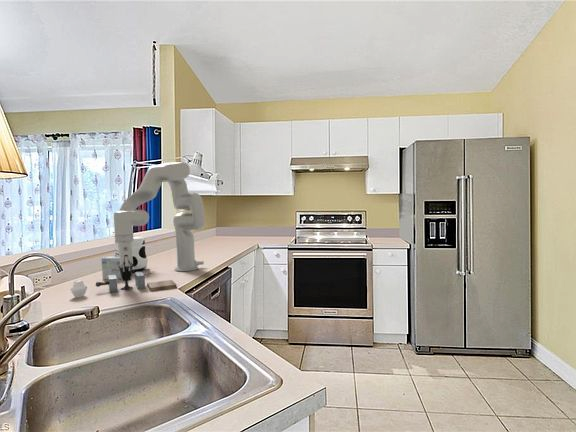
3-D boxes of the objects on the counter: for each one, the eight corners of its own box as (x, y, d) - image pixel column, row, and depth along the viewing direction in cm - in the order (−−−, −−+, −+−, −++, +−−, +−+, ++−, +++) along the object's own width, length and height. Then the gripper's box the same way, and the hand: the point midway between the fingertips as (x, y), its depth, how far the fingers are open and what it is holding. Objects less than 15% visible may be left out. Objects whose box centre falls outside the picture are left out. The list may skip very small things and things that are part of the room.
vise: (142, 284, 179) (141, 271, 178) (145, 288, 170) (144, 275, 170) (95, 290, 170) (95, 276, 170) (96, 295, 161) (95, 281, 161)
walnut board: (171, 283, 180) (171, 279, 180) (176, 287, 170) (176, 284, 170) (147, 286, 175) (147, 283, 174) (150, 291, 165) (150, 287, 165)
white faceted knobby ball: (72, 299, 155) (70, 282, 155) (70, 296, 160) (68, 280, 160) (89, 296, 159) (88, 280, 158) (86, 293, 164) (85, 277, 163)
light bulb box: (128, 276, 199) (127, 255, 199) (122, 279, 193) (121, 257, 192) (109, 276, 200) (108, 255, 200) (102, 279, 194) (100, 258, 193)
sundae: (119, 291, 167) (117, 256, 166) (118, 288, 173) (116, 255, 172) (135, 289, 170) (133, 255, 169) (134, 286, 176) (132, 253, 175)
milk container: (107, 273, 208) (105, 240, 207) (127, 267, 225) (125, 236, 224) (135, 274, 204) (134, 240, 203) (154, 267, 221) (152, 236, 220)
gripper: (135, 239, 164) (137, 281, 165) (131, 236, 179) (133, 275, 180) (116, 241, 161) (118, 284, 162) (113, 237, 176) (116, 277, 177)
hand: (126, 278), depth 171 cm, fingers closed on sundae, 4 cm apart
